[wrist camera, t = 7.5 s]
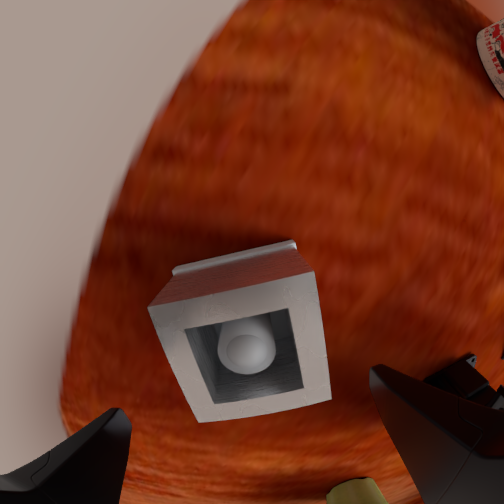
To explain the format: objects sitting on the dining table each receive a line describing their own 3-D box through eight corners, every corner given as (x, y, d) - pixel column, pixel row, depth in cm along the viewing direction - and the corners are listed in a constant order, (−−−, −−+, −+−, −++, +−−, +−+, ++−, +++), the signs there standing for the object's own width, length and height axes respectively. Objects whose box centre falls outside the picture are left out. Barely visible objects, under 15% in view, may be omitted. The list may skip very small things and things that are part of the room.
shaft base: (311, 342, 17) (332, 396, 12) (208, 363, 18) (196, 420, 12) (292, 239, 16) (314, 264, 10) (176, 266, 16) (143, 301, 11)
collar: (311, 347, 16) (331, 399, 12) (209, 368, 17) (198, 422, 12) (293, 245, 15) (314, 271, 10) (176, 272, 15) (147, 307, 10)
